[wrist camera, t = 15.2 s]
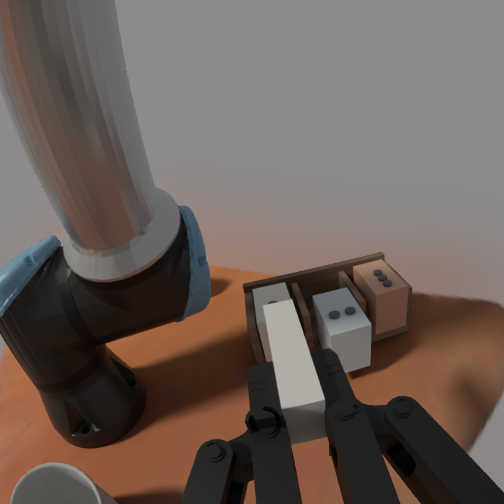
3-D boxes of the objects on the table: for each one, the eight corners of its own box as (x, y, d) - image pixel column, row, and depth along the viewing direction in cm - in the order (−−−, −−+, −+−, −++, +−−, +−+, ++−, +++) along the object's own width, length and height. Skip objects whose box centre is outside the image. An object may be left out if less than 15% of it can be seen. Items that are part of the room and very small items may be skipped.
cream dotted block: (302, 354, 35) (295, 313, 33) (266, 362, 36) (256, 321, 33) (291, 318, 43) (284, 280, 41) (261, 325, 43) (252, 287, 41)
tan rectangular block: (405, 325, 35) (408, 283, 33) (375, 334, 35) (376, 292, 33) (381, 295, 43) (381, 257, 40) (355, 302, 43) (352, 264, 40)
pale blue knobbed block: (370, 365, 31) (371, 322, 28) (333, 376, 31) (330, 333, 29) (348, 325, 38) (346, 285, 36) (317, 334, 38) (312, 293, 36)
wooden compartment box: (408, 330, 37) (412, 280, 34) (259, 370, 38) (245, 322, 35) (382, 297, 46) (381, 252, 43) (254, 328, 46) (242, 283, 43)
